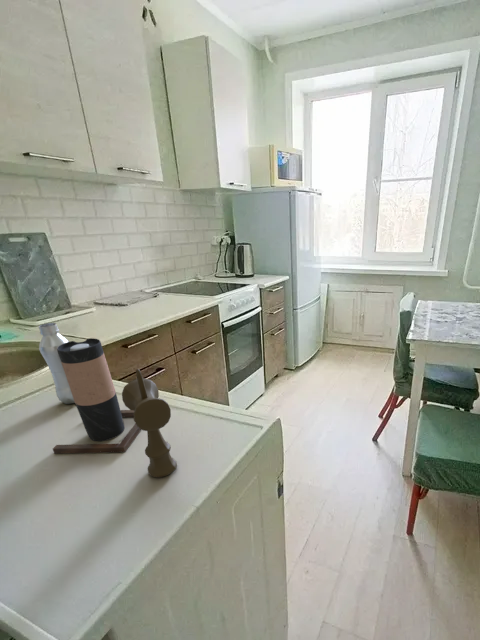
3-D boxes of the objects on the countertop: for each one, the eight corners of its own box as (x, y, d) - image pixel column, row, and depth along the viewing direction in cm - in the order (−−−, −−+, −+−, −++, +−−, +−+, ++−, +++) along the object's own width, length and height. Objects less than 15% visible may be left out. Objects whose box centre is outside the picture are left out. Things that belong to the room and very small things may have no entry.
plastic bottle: (74, 408, 87) (45, 329, 78) (53, 405, 89) (23, 328, 80) (94, 396, 92) (70, 321, 83) (75, 393, 94) (49, 320, 85)
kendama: (171, 451, 69) (149, 355, 60) (188, 478, 61) (165, 373, 53) (140, 462, 66) (111, 364, 57) (153, 492, 59) (122, 384, 50)
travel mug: (106, 445, 72) (76, 353, 63) (79, 438, 74) (46, 349, 66) (133, 425, 78) (109, 339, 69) (107, 420, 81) (80, 336, 72)
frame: (54, 453, 70) (52, 448, 69) (93, 415, 83) (91, 410, 83) (125, 452, 69) (123, 447, 69) (153, 413, 83) (151, 409, 82)
